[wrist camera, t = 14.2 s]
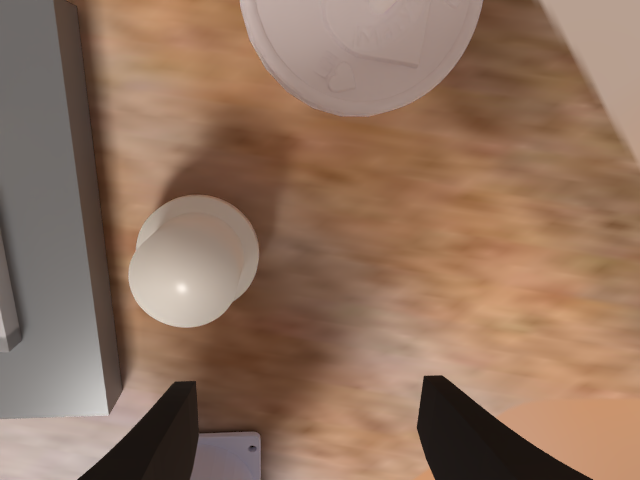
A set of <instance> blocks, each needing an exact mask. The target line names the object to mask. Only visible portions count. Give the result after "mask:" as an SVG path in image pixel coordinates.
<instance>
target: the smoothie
mask: <svg viewBox="0 0 640 480" xmlns="http://www.w3.org/2000/svg"><path fill="white" fill-rule="evenodd" d="M482 4H483V0H240V8H241V11H242V15H243V18H244V22H245V25H246V29H247V33H248V36H249V40H250V42H251V43H252V45H253V47H254V49H255V51H256V52H257V54H258V56H259V58H260V60H261V61H262V63H263V65H264V67H265V68H266V70H267V71H268V72H269V73H270V74H271V75H272V76H273V77H274V78H275V79H276V80H277V82H278V83H279V84H280V85H281V86H282V87H283V88H284V89H285V90H286V91H287V92H288V93H290V94H291V95H293V96H294V97H296V98H298V99H299V100H301V101H302V102H304V103H306V104H307V105H309V106H310V107H312V108H314V109H318V110H321V111H324V112H328V113H331V114H334V115H338V116H356V117H369V116H373V115H377V114H381V113H384V112H389V111H392V110H395V109H398V108H401V107H403V106H406V105H408V104H410V103H412V102H414V101H416V100H417V99H419V98H421V97H422V96H424V95H425V94H427V93H428V92H429V91H431V90H432V89H433V88H434V87H436V86H437V85H438V84H439V83H440V82H441V81H442V80H443V79H444V78H445V77H446V76H447V75H448V74H449V72H450V71H451V70H452V69H453V68H454V66H455V65H456V64H457V62H458V61H459V59H460V58H461V56H462V55H463V53H464V51H465V50H466V48H467V46H468V44H469V42H470V40H471V38H472V35H473V33H474V31H475V28H476V25H477V22H478V20H479V16H480V12H481V8H482Z"/></svg>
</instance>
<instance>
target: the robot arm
mask: <svg viewBox="0 0 640 480" xmlns="http://www.w3.org/2000/svg"><path fill="white" fill-rule="evenodd" d="M417 430H418V434H419V437H420V440H421V444H422V447H423V450H424V453H425V457H426V460H427V462H428V464H429V467H430V469H431V471H432V473H433V476H434V478H435V480H593V479H591V478H589V477H587V476H585V475H583V474H582V473H580V472H578V471H576V470H574V469H572V468H570V467H569V466H567V465H565V464H563V463H562V462H560V461H558V460H556V459H555V458H553V457H552V456H550V455H549V454H547V453H545V452H544V451H542V450H541V449H539V448H537V447H536V446H534V445H533V444H531V443H530V442H528V441H527V440H525V439H524V438H522V437H521V436H520V435H518V434H517V433H515V432H514V431H513V430H511V429H510V428H508V427H507V426H506V425H504V424H503V423H501V422H500V421H499V420H498V419H496V418H495V417H494V416H492V415H491V414H490V413H489V412H487V411H486V410H485V409H483V408H482V407H481V406H480V405H478V404H477V403H476V402H475V401H474V400H472V399H471V398H470V397H469V396H467V395H466V394H465V393H464V392H463V391H461V390H460V389H459V388H458V387H456V386H455V385H454V384H453V383H451V382H450V381H449V380H448V379H446V378H445V377H444V376H442V375H439V376H424V379H423V386H422V394H421V401H420V408H419V416H418V423H417ZM250 446H255V447H250ZM77 480H261V437H260V435H259V433H257V432H227V433H201V434H199V428H198V411H197V394H196V381H181V382H174V383H173V384H172V385H171V386H170V388H169V389H168V390H167V391H166V392H165V393H164V394H163V396H162V397H161V398H160V399H159V400H158V401H157V403H156V404H155V405H154V406H153V407H152V408H151V409H150V410H149V412H148V413H147V414H146V415H145V416H144V417H143V418H142V419H141V420H140V421H139V422H138V423H137V424H136V425H135V427H134V428H133V429H132V430H131V431H130V432H129V433H128V434H127V435H126V436H125V437H124V438H123V439H122V440H121V441H120V442H119V443H118V444H117V445H115V446H114V447H113V448H112V449H111V450H110V451H109V452H108V453H107V454H106V455H105V456H104V457H103V458H102V459H101V460H100V461H98V462H97V463H96V464H95V465H94V466H93V467H92V468H91V469H89V470H88V471H87V472H86V473H85V474H83V475H82V476H81V477H80V478H79V479H77Z"/></svg>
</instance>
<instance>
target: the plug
mask: <svg viewBox="0 0 640 480" xmlns="http://www.w3.org/2000/svg"><path fill="white" fill-rule="evenodd" d="M258 261H259V243H258V239H257V235H256V233H255V230H254V228H253V226H252V224H251V223H250V221H249V220H248V219H247V217H246V216H245V215H244V214H243V213H242V212H241V211H240V210H239V209H237V208H236V207H235V206H233V205H232V204H230V203H229V202H226V201H224V200H222V199H220V198H217V197H214V196H209V195H200V194H195V195H186V196H181V197H178V198H175V199H173V200H171V201H169V202H167V203H165V204H164V205H162V206H161V207H160V208H158V209H157V210H156V211H155V212H153V213H152V214H151V215H150V216H149V217H148V219H147V220H146V221H145V223H144V224H143V226H142V228H141V230H140V232H139V235H138V239H137V244H136V252H135V253H134V255H133V257H132V259H131V262H130V266H129V273H128V276H129V285H130V289H131V292H132V294H133V296H134V298H135V300H136V301H137V303H138V304H139V306H140V307H141V308H142V309H143V310H144V311H145V312H146V313H147V314H148V315H150V316H151V317H153V318H154V319H156V320H158V321H160V322H162V323H164V324H167V325H171V326H175V327H185V328H188V327H197V326H201V325H205V324H208V323H210V322H212V321H214V320H215V319H217V318H219V317H220V316H221V315H222V314H223V313H224V312H225V311H226V310H227V309H228V308H229V306H230V305H231V303H232V302H233V301H235V300H236V299H237V298H239V297H240V296H241V295H242V294H243V293H244V292H245V291H246V290H247V289H248V287H249V286H250V284H251V283H252V281H253V279H254V277H255V274H256V271H257V266H258Z"/></svg>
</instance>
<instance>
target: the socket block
mask: <svg viewBox="0 0 640 480" xmlns="http://www.w3.org/2000/svg"><path fill="white" fill-rule="evenodd" d="M121 393H122V383H121V375H120V366H119V358H118V349H117V341H116V333H115V324H114V316H113V307H112V299H111V291H110V282H109V274H108V266H107V257H106V249H105V240H104V232H103V224H102V215H101V207H100V199H99V190H98V182H97V173H96V165H95V157H94V148H93V140H92V131H91V123H90V115H89V106H88V98H87V90H86V81H85V73H84V64H83V56H82V48H81V39H80V31H79V23H78V14H77V6H75V5H73V4H71V3H69V2H68V1H66V0H0V419H15V418H46V417H77V416H107V415H109V414H110V412H111V411H112V409H113V407H114V405H115V404H116V402H117V400H118V398H119V397H120V395H121Z"/></svg>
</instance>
